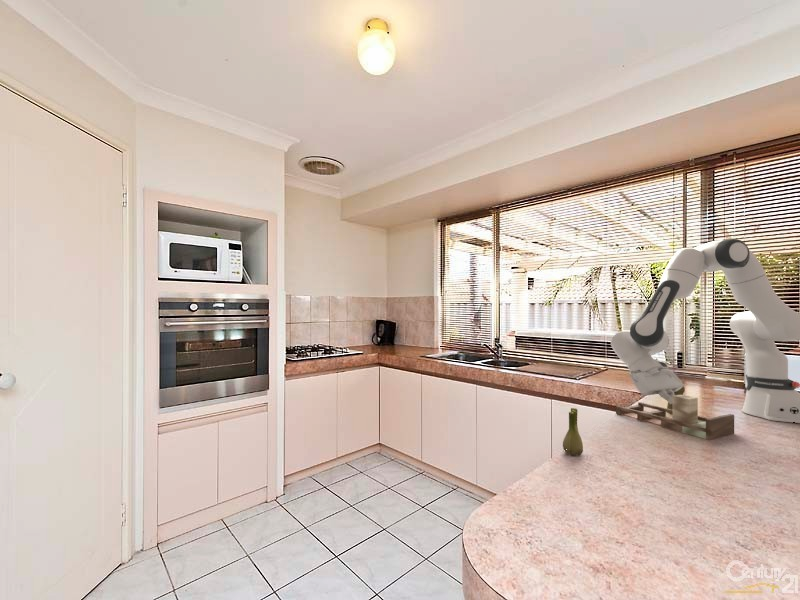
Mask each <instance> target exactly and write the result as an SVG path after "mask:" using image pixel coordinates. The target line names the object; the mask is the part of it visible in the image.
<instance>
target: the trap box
mask: <svg viewBox="0 0 800 600" xmlns="http://www.w3.org/2000/svg"><path fill="white" fill-rule="evenodd" d="M645 408H649V409H653V411H646V410H644V409H645ZM667 412H669V413H668V414H670V413H672V410H671V409H667V408H665V407H661V406H657V405H653V404H650V403H645V402H637V404H636V405H630V406H629V405H628V406H625V407H624V406H620V405H615V415H619V416H626V417H628V418H632V419H635V420H637V421H639V420H640V422H647V423H650V424H654V425H657V426H660V428H661V427H662V428H665V429H669V430H673V431H676V432H679V433H683V434H687V435H690V436H694V437H698V438H702V439H705V440H708V441H711V440H714V439H715V440H716V439H720V438H722V437H726V436H727V437H728V436H732V435H735V414H733V413H729V414H725V415H724V414H723V415H719V416H715V417H714V416H713V417H704V416H701V415H698V422H696V423H691V424H688V423H684V422H680V421H676V420H672V417H670V416H667Z"/></svg>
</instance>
